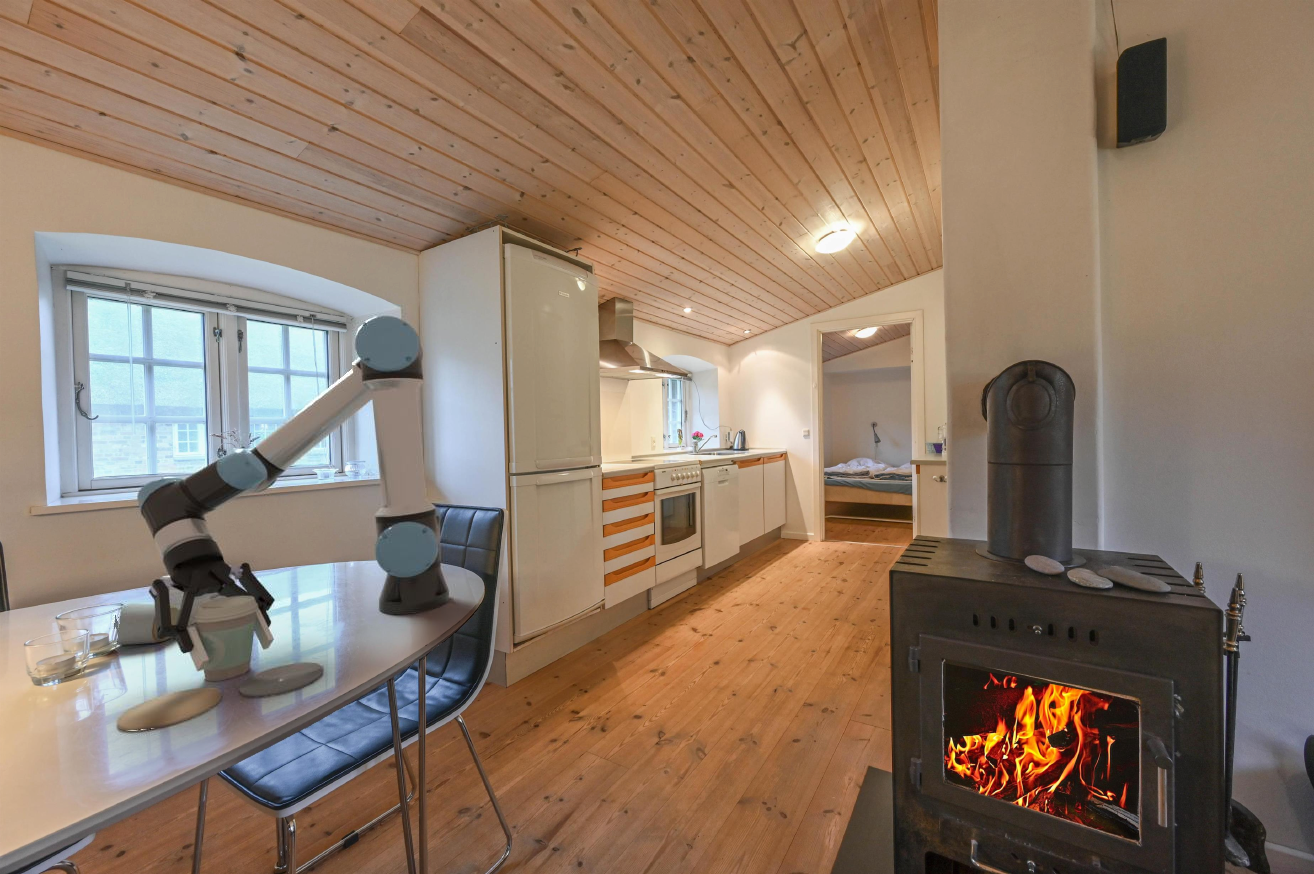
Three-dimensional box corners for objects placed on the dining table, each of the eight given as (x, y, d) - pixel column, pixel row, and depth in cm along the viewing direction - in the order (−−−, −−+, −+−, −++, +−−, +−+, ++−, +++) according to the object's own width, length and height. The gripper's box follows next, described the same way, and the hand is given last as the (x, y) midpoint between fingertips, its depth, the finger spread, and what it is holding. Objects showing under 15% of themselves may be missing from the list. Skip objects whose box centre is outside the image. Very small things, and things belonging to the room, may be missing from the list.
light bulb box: (208, 609, 122) (208, 564, 122) (233, 610, 121) (233, 564, 121) (159, 626, 111) (158, 576, 112) (186, 627, 111) (185, 576, 111)
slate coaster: (322, 660, 92) (322, 657, 92) (323, 684, 83) (323, 680, 83) (244, 676, 86) (244, 673, 86) (234, 704, 77) (234, 700, 77)
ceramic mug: (155, 647, 99) (155, 607, 99) (106, 651, 98) (106, 610, 98) (195, 629, 110) (195, 592, 110) (152, 631, 109) (152, 595, 109)
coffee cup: (190, 674, 87) (189, 603, 87) (254, 658, 93) (253, 591, 93) (197, 690, 81) (196, 614, 81) (264, 671, 88) (263, 601, 88)
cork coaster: (226, 684, 83) (226, 681, 83) (214, 714, 74) (214, 710, 74) (131, 705, 77) (131, 701, 77) (105, 740, 68) (105, 735, 68)
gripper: (250, 551, 104) (297, 644, 97) (100, 578, 85) (145, 696, 78) (264, 527, 102) (313, 620, 94) (113, 548, 83) (160, 667, 75)
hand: (237, 654), depth 86 cm, fingers closed on coffee cup, 8 cm apart
